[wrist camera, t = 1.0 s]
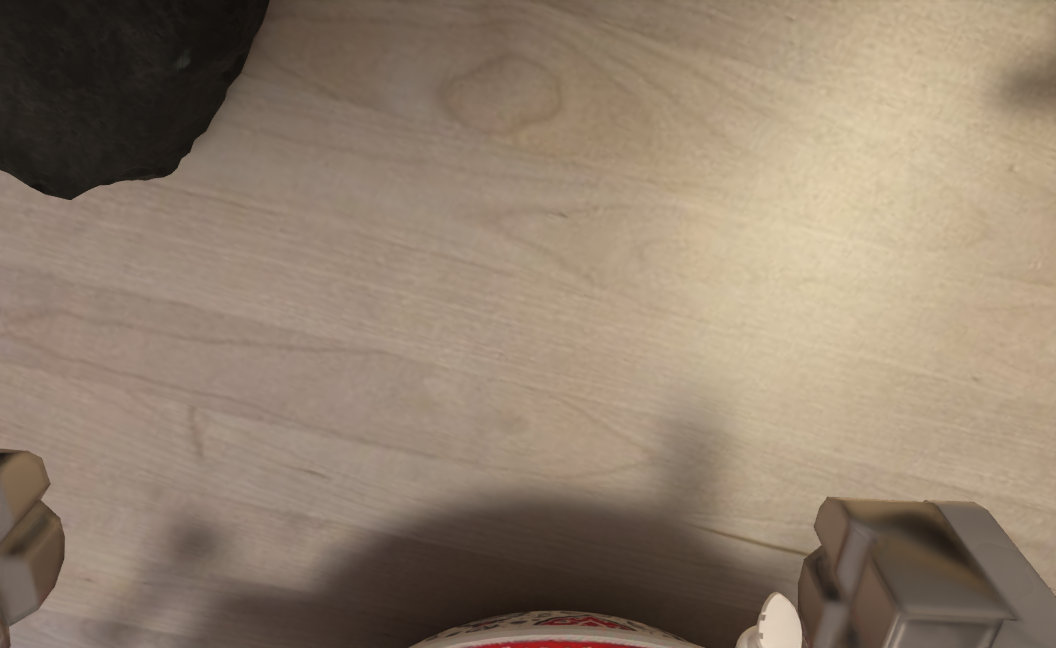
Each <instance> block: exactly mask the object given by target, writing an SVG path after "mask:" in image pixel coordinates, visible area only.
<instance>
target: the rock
mask: <svg viewBox="0 0 1056 648" xmlns="http://www.w3.org/2000/svg"><path fill="white" fill-rule="evenodd" d="M269 1H270V0H0V170H1V171H4V172H7V173H9V174H11V175H13V176H14V177H16V178H17V179H19V180H20V181H22V182H23V183H25V184H27V185H28V186H30V187H32V188H34V189H36V190H38V191H40V192H42V193H44V194H46V195H50V196H55V197H59V198H63V199H67V200H72V199H73V198H75V197H77V196H79V195H81V194H82V193H84V192H86V191H88V190H90V189H92V188H94V187H97V186H99V185H110V184H113V183H115V182H119V181H125V180H131V181H133V180H144V181H145V180H150V179H154V178H161V177H165V176H167V175H170V174H172V173H173V172H174V171H175V170H176V169H177V168H178V165H179V163H180V161H181V159H182V158H183V157H184V156H186V155H187V154H188V153H190V151H191V148H192V145H193V142H194V140H195V139H196V138H197V137H199V136H200V135H201V134H203V133H204V132H206V130H207V128H208V126H209V124H210V122H211V120H212V118H213V117H214V115H215V114H216V112H217V111H218V109H219V107H220V106H221V104H222V103H223V101H224V99H225V96H226V92H227V89H228V88H229V86H230V85H231V84H232V82H233V81H234V80H235V79H236V78H237V77H238V76H239V74H240V73H241V71H242V68H243V66H244V64H245V61H246V59H247V57H248V54H249V51H250V48H251V45H252V42H253V39H254V37H255V35H256V33H257V32H258V30H259V28H260V26H261V24H262V22H263V19H264V17H265V14H266V11H267V8H268V4H269Z"/></svg>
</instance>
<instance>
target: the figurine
mask: <svg viewBox="0 0 1056 648" xmlns="http://www.w3.org/2000/svg"><path fill="white" fill-rule="evenodd" d="M801 643H802V628H801V623H800V620H799V617H798V615H797V612H796V610H795V607H794V606H793V605H792V603H791V602H790V601H789V600H788V599H787V598H786V597H784V596H783V595H782V594H780V593H778V592H774V593H772V594H771V595H770V596H769V597H768V599H767V600H766V601H765V603H764V605H763V607H762V610H761V613H760V615H759V618H758V622H757V625H755V626H753V627H750V628H748V629H747V630H746V631H744V632H743V633H742V635H741V636H740V637H739V639H738V641H737V644H736V647H735V648H801Z"/></svg>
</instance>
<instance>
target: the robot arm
mask: <svg viewBox="0 0 1056 648" xmlns="http://www.w3.org/2000/svg"><path fill="white" fill-rule="evenodd" d="M49 486H50V481H49V478H48V475H47V472H46V469H45V466H44V463H43V460H42V458H41V457H39V456H37V455H35V454H33V453H31V452H29V451H22V450H10V449H0V648H9V647H10V646H11V643H10V633H9V626H11V625H13V624H14V623H16V622H18V621H19V620H21V619H23V618H25V617H26V616H28V615H30V614H31V613H33V612H35V611H36V610H38V609H39V608H40V606H41V605H42V603H43V602H44V601H45V599H46V598H47V596H48V595H49V594H50V592H51V591H52V589H53V588H54V587H55V584H56V581H57V578H58V575H59V573H60V570H61V567H62V564H63V561H64V553H65V535H64V531H63V527H62V524H61V520H60V517H58V516H57V515H56V514H55V513H54V512H53V511H52V510H51V509H50V508H49V507H48V506H46V505H45V504H44V503H43V502H42V501H41V498H42V497H43V495H44V494H45V492H46V491H47V489H48V487H49ZM814 529H815V531H816V533H817V536H818V538H819V540H820V542H821V544H822V545H821V546H820V547H819V548H818V549H816V550H815V551H814V552H813V553H811V554H810V555H809V556H808V557H806V558H805V559H804V562H803V566H802V570H801V574H800V578H799V582H798V612H799V618H800V623H801V628H802V632H803V634H804V637H805V640H806V643H807V646H808V648H1056V596H1055V595H1054V593H1053V592H1052V591H1051V590H1050V588H1049V587H1048V586H1047V585H1046V583H1045V582H1044V581H1043V579H1042V578H1041V577H1040V576H1039V574H1038V573H1037V572H1036V571H1035V569H1034V568H1033V567H1032V566H1031V564H1030V563H1029V562H1028V561H1027V559H1026V558H1025V557H1024V556H1023V554H1022V553H1021V552H1020V550H1019V549H1018V548H1017V547H1016V545H1015V544H1014V543H1013V542H1012V540H1011V539H1010V538H1009V537H1008V535H1007V534H1006V533H1005V532H1004V530H1003V529H1002V528H1001V527H1000V525H999V524H998V523H997V521H996V520H995V519H994V518H993V516H992V515H991V514H990V513H989V511H988V510H987V509H985V508H984V507H982V506H980V505H978V504H977V503H975V502H961V501H929V500H925V501H923V502H917V501H898V500H879V499H859V498H840V497H827V498H826V500H825V501H824V502H823V504H822V505H821V506H820V508H819V511H818V514H817V517H816V521H815V524H814Z"/></svg>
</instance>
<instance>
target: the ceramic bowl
mask: <svg viewBox="0 0 1056 648" xmlns="http://www.w3.org/2000/svg"><path fill="white" fill-rule="evenodd" d="M409 648H705V647H701V646H698V645H695V644H693V643H691V642H689V641H687V640H684V639H682V638H680V637H678V636H676V635H674V634H671V633H669V632H666V631H663V630H661V629H658V628H655V627H652V626H649V625H645V624H642V623H639V622H635V621H632V620H628V619H624V618H619V617H614V616H609V615H604V614H596V613H588V612H577V611H532V612H520V613H512V614H506V615H500V616H494V617H490V618H486V619H481V620H477V621H473V622H470V623H467V624H464V625H461V626H457V627H454V628H451V629H448V630H446V631H443V632H441V633H439V634H436V635H434V636H431V637H429V638H427V639H425V640H423V641H421V642H419V643H417V644H415V645H413V646H411V647H409Z"/></svg>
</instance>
